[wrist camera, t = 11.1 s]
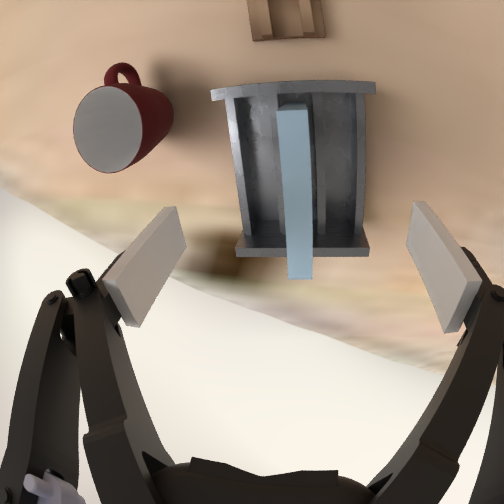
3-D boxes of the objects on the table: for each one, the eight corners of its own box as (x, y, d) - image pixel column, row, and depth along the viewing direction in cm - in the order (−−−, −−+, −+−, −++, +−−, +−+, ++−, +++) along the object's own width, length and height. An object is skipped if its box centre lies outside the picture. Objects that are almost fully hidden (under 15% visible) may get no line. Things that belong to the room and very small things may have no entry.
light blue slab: (286, 102, 24) (275, 111, 15) (304, 101, 24) (307, 109, 14) (294, 211, 31) (288, 279, 21) (310, 211, 30) (312, 279, 21)
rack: (231, 88, 25) (210, 89, 20) (358, 83, 23) (375, 82, 17) (248, 224, 34) (236, 256, 28) (357, 223, 31) (368, 256, 26)
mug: (112, 84, 26) (54, 94, 18) (166, 50, 23) (113, 44, 15) (144, 156, 31) (94, 186, 23) (200, 130, 28) (158, 152, 20)
